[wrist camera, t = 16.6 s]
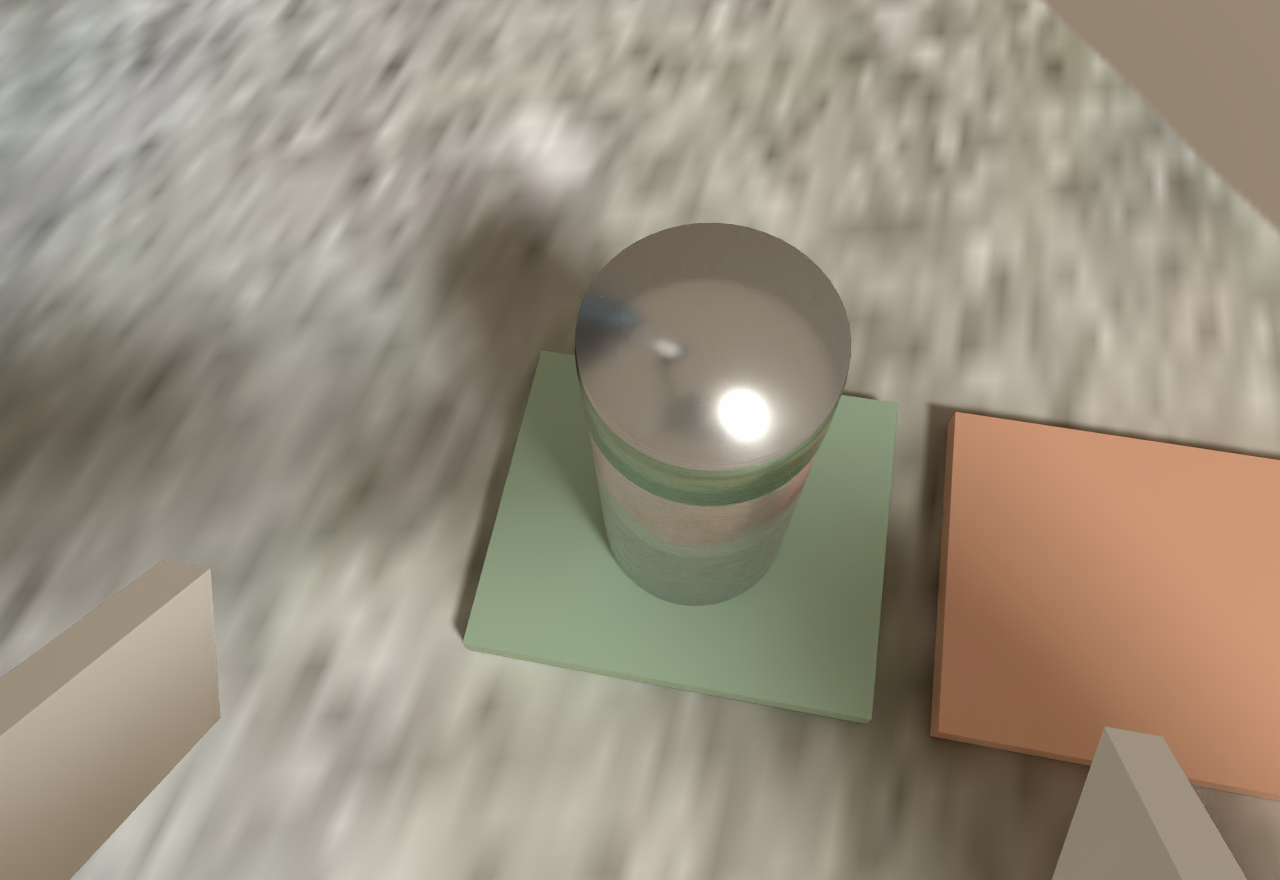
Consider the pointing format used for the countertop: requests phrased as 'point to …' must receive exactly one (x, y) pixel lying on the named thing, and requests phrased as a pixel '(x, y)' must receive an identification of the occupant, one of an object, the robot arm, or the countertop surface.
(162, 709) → the robot arm
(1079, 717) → the terracotta tile
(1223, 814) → the countertop surface
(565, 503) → the green tile
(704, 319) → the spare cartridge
